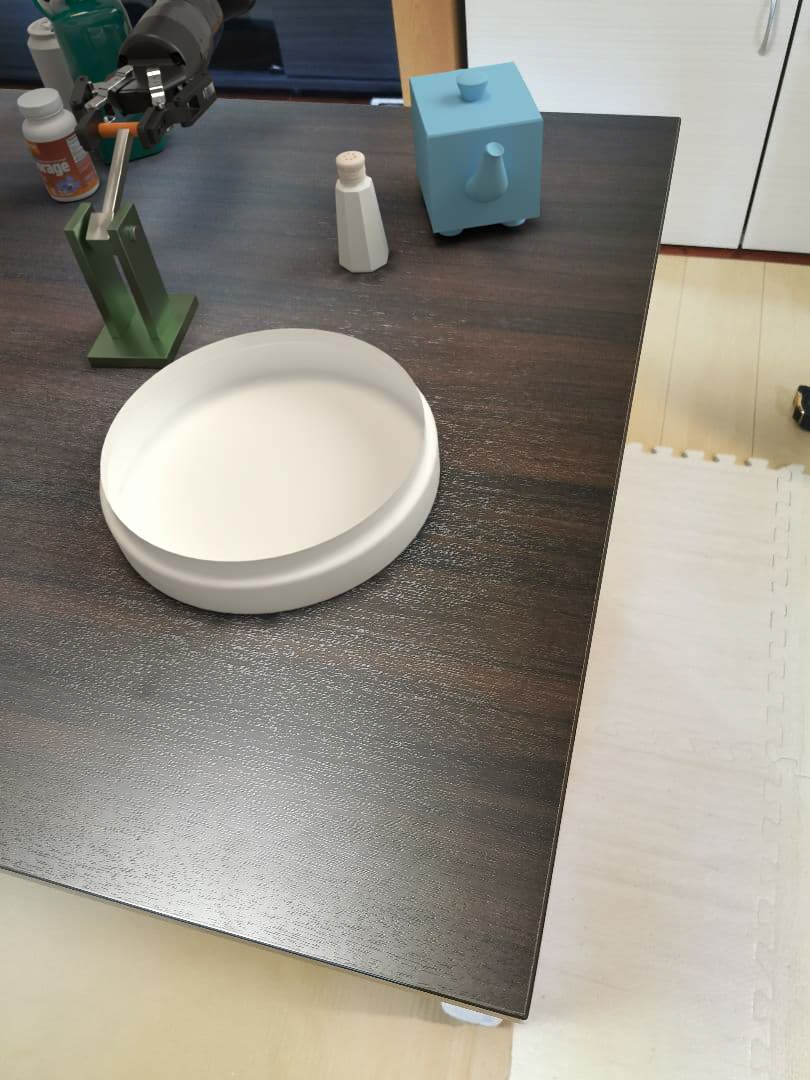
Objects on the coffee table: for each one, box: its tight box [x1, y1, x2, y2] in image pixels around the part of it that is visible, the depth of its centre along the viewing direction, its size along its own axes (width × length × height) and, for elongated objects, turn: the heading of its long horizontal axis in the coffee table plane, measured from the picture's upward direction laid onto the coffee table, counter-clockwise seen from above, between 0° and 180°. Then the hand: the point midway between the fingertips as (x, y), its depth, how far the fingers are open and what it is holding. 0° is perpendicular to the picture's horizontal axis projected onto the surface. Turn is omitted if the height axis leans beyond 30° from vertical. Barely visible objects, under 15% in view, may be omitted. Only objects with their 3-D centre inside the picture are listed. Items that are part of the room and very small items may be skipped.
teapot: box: [408, 61, 544, 237], centre depth 86 cm, size 22×11×14 cm, turn 7°
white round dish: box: [99, 327, 441, 615], centre depth 67 cm, size 27×27×6 cm
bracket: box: [62, 201, 200, 369], centre depth 78 cm, size 10×8×13 cm
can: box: [26, 16, 74, 114], centre depth 110 cm, size 8×8×12 cm
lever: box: [86, 122, 139, 256], centre depth 76 cm, size 13×5×2 cm, turn 172°
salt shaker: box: [334, 150, 390, 274], centre depth 84 cm, size 5×5×11 cm
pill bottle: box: [16, 87, 100, 203], centre depth 98 cm, size 6×6×11 cm
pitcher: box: [31, 0, 168, 165], centre depth 100 cm, size 10×8×22 cm
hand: (114, 140), depth 75 cm, fingers closed on lever, 5 cm apart
